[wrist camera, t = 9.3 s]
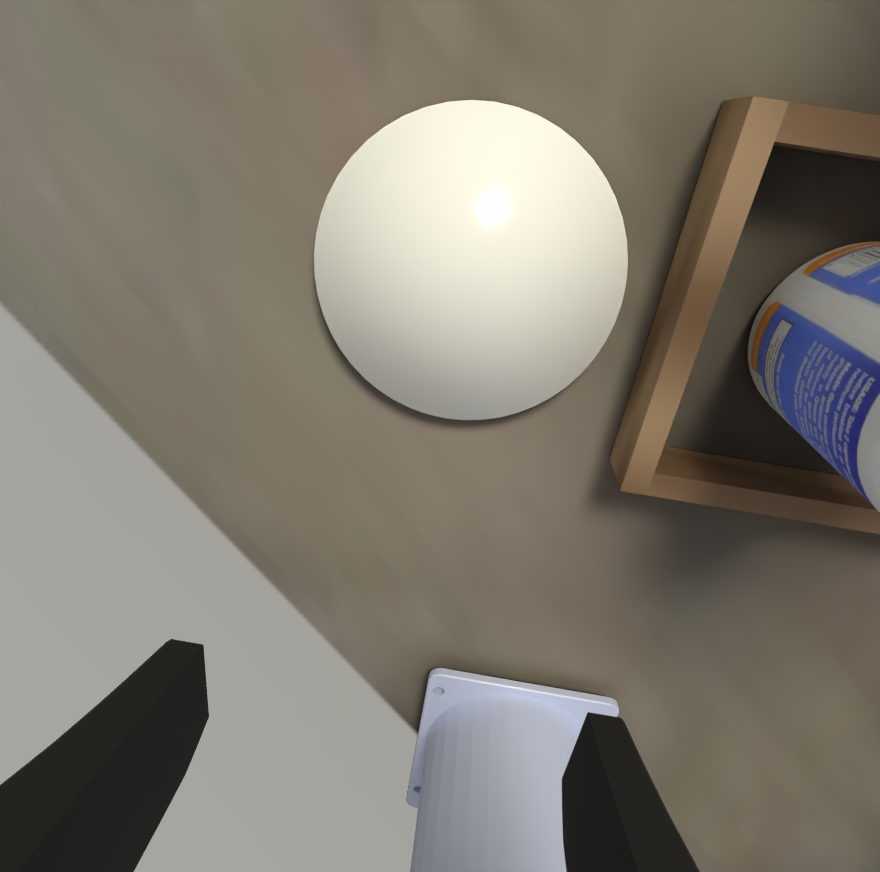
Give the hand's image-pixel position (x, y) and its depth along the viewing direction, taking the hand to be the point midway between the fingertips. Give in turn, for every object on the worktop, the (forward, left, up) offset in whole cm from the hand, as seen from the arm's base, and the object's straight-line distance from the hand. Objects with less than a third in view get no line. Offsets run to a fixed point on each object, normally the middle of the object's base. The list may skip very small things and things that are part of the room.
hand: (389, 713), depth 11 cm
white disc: (+6, 0, -10) cm, 12 cm away
